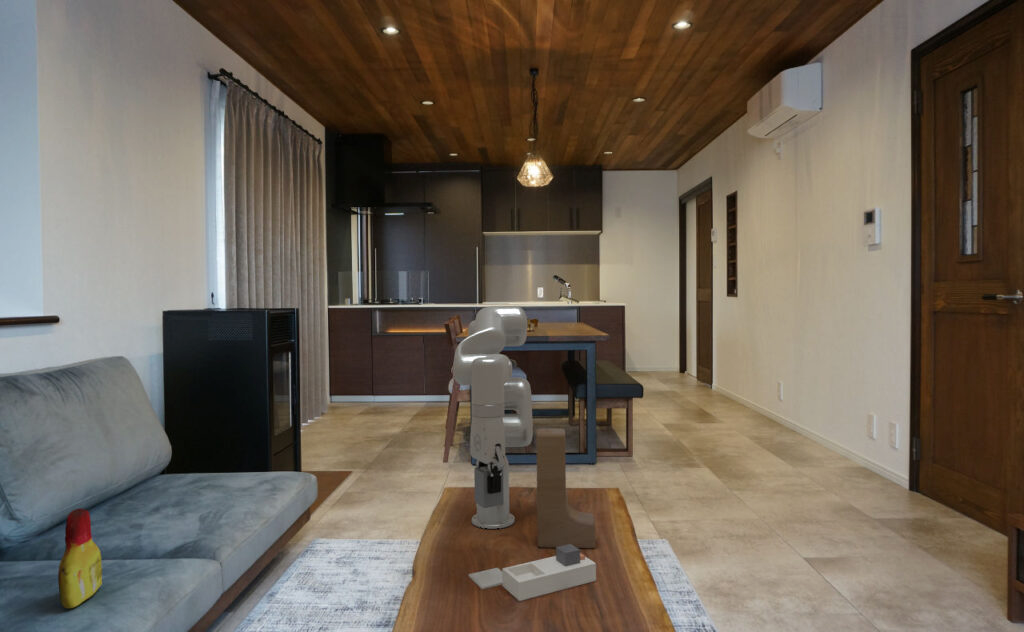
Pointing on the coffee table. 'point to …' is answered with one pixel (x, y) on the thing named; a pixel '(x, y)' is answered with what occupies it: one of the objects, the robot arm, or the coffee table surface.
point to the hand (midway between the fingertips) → (489, 488)
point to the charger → (486, 489)
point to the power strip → (549, 574)
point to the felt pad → (487, 578)
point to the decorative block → (558, 497)
